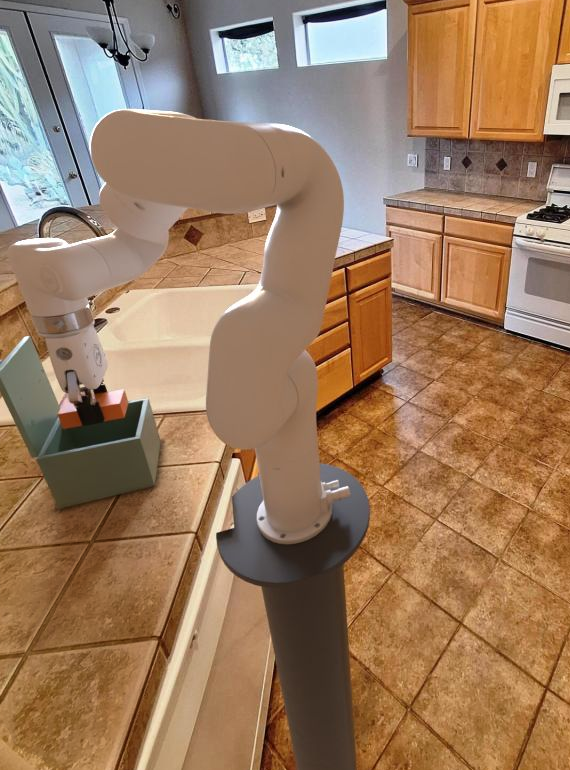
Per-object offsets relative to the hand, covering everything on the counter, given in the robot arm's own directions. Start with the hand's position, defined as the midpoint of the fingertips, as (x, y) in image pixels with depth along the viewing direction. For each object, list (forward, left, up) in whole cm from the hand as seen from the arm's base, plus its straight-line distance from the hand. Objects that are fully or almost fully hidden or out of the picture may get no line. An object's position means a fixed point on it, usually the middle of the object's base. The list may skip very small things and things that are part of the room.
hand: (97, 413), depth 75 cm
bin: (0, 0, -13) cm, 13 cm away
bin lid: (+7, 0, +6) cm, 9 cm away
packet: (0, 0, 0) cm, 0 cm away
